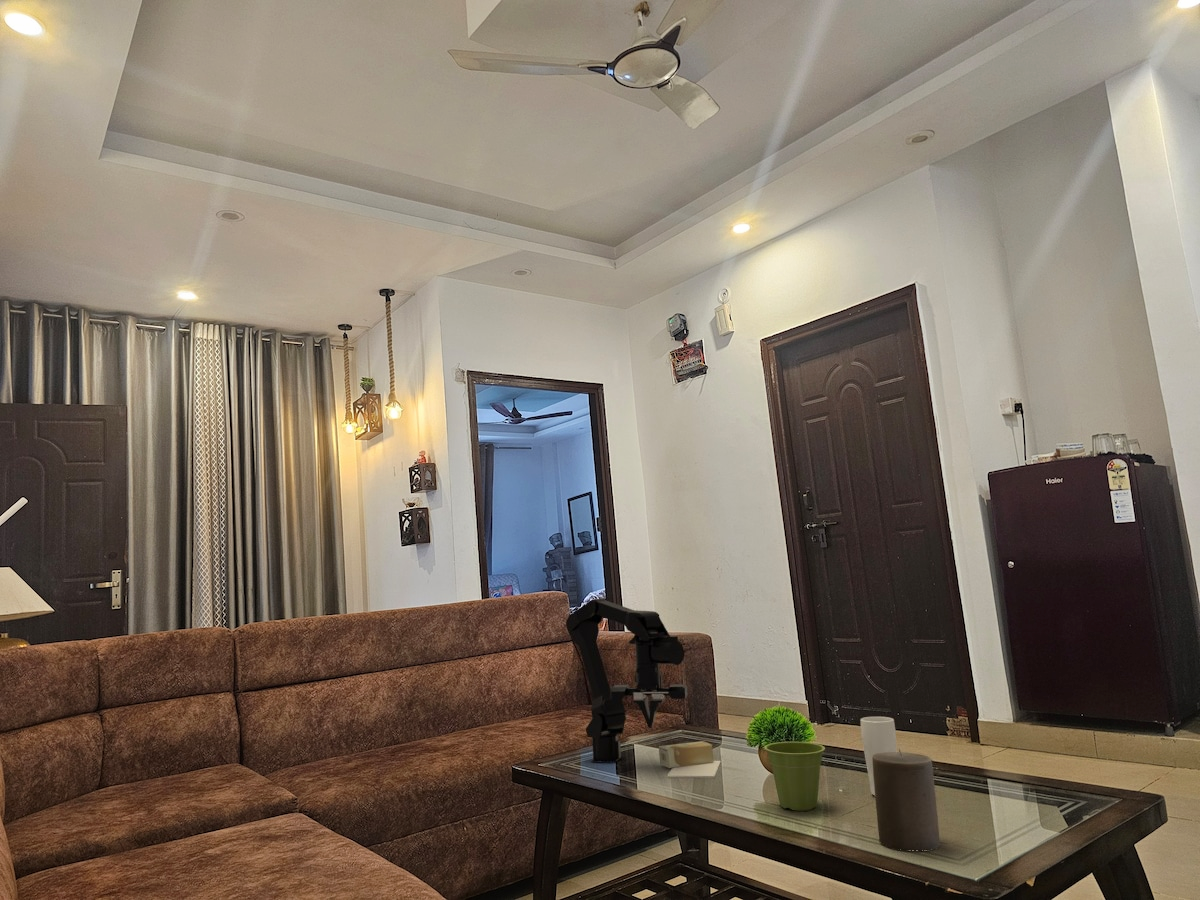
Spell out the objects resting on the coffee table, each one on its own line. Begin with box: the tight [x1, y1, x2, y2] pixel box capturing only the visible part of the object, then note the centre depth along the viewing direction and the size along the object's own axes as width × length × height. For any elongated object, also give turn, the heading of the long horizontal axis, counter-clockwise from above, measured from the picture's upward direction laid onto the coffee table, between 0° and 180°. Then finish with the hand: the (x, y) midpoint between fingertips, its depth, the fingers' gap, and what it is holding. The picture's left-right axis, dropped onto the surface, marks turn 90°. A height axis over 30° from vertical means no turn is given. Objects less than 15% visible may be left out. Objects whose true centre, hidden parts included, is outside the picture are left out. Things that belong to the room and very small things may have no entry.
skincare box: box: [658, 740, 715, 769], centre depth 198 cm, size 6×4×12 cm
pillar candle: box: [872, 748, 941, 851], centre depth 134 cm, size 10×10×15 cm
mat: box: [666, 760, 722, 779], centre depth 192 cm, size 11×16×1 cm
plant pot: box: [764, 741, 826, 812], centre depth 158 cm, size 12×12×11 cm
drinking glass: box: [859, 716, 898, 796], centre depth 163 cm, size 7×7×15 cm
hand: (650, 727), depth 197 cm, fingers closed
